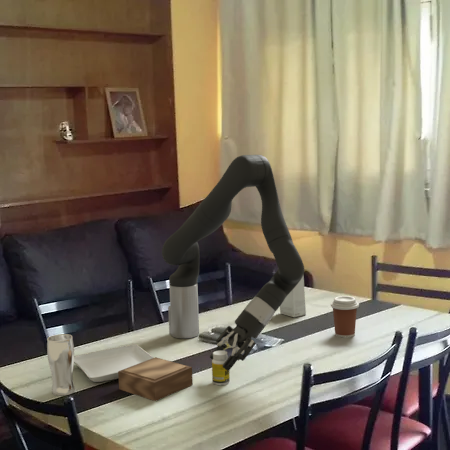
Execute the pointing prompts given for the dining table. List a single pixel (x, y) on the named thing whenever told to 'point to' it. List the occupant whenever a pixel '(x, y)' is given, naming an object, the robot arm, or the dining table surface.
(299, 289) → the skincare box
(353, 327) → the coffee cup
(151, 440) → the dining table surface
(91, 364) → the salad plate
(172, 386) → the pedestal
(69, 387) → the beer glass
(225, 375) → the supplement bottle
